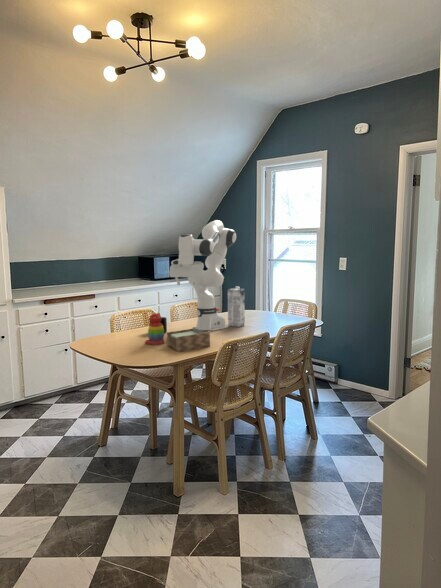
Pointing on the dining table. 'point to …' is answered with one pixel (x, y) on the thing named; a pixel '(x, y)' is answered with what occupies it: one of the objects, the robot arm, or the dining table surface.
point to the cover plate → (188, 333)
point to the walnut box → (188, 341)
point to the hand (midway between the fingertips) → (186, 284)
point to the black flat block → (164, 323)
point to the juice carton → (236, 307)
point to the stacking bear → (155, 330)
